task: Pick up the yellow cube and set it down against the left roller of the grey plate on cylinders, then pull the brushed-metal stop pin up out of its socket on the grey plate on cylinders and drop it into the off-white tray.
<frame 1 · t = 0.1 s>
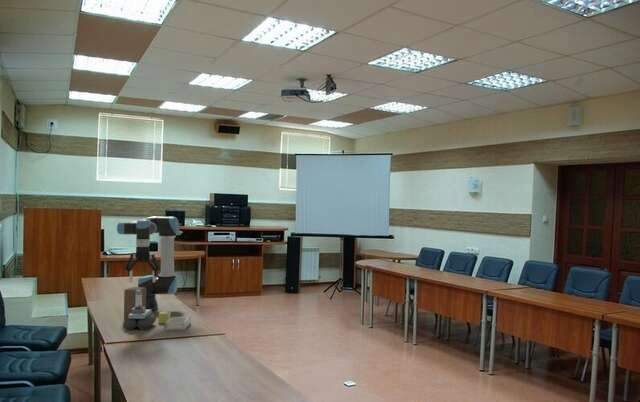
hand: (142, 282, 281), 28 cm above the table, fingers open, 13 cm apart
pin: (138, 312, 285), point 9 cm above the table, touching grey plate on cylinders
grey plate on cylinders: (140, 327, 285), on the table
block: (134, 320, 302), on the table
tray: (177, 326, 288), on the table
yellow cube: (164, 322, 297), on the table
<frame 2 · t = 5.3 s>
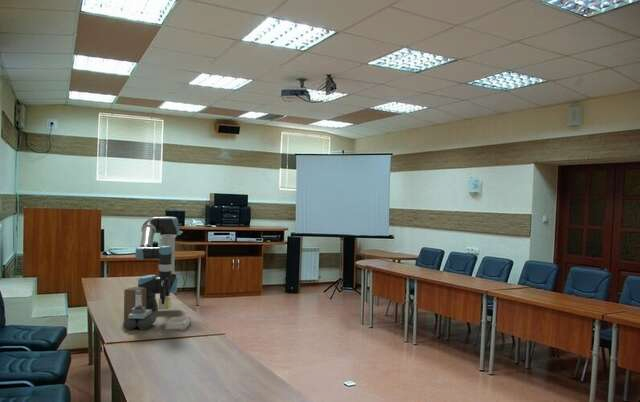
hand: (164, 307, 298), 9 cm above the table, fingers closed on yellow cube, 5 cm apart
yellow cube: (164, 308, 298), point 9 cm above the table, touching gripper
everything else where it was.
when the fingers open (0 cm above the table, at t = 8.7 s): yellow cube stays where it is, on the table.
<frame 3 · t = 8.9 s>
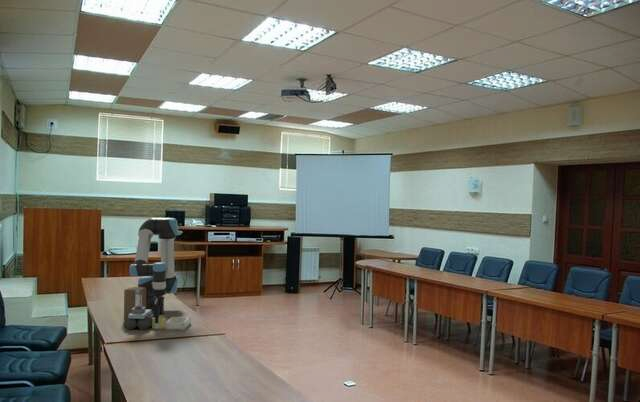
hand: (158, 326, 285), 0 cm above the table, fingers open, 5 cm apart
yellow cube: (158, 327, 285), on the table, touching gripper
everything else where it was.
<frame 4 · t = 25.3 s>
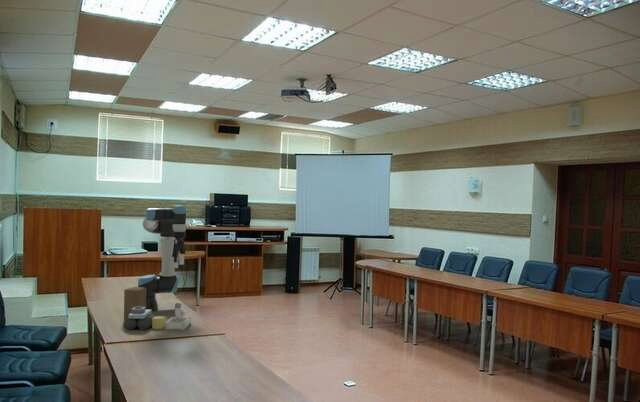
hand: (178, 266, 287), 37 cm above the table, fingers open, 13 cm apart
pin: (177, 325, 288), point 1 cm above the table, touching tray
yellow cube: (158, 327, 285), on the table
everything else where it was.
at the end: yellow cube 0.8 cm from the target spot, on the table; pin inside the target area on the tray (0.1 cm from its centre), point 0.8 cm above the tray's base; the gripper is holding nothing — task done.
